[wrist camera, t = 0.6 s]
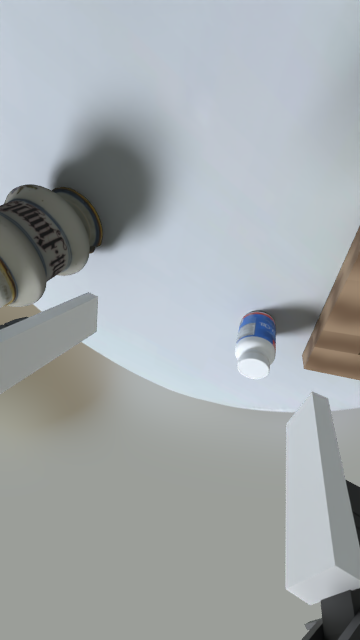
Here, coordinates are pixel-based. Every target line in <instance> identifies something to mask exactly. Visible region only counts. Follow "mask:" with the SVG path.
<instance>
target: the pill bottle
mask: <svg viewBox="0 0 360 640" xmlns="http://www.w3.org/2000/svg"><path fill="white" fill-rule="evenodd" d="M275 353H276V325H275V321H274V319H273V318H272V317H271V316H270V315H268V314H267V313H264V312H251V313H248V314H246V315H245V316H244V317H243V318H242V320H241V322H240V327H239V332H238V337H237V342H236V348H235V355H236V357H237V359H238V366H237V368H238V371H239V372H240V373H241V374H242V375H243V376H245V377H247V378H250V379H262V378H264V377H266V376H267V375H268V373H269V369H270V365H271V364H272V363H273V361H274V359H275Z"/></svg>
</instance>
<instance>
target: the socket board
mask: <svg viewBox="0 0 360 640" xmlns="http://www.w3.org/2000/svg"><path fill="white" fill-rule="evenodd" d="M302 357H303V365H304V369H307V370H312V371H317V372H322V373H327V374H332V375H337V376H342V377H347V378H351V379H356V380H360V227H359V229H358V231H357V233H356V236H355V238H354V240H353V242H352V245H351V247H350V249H349V251H348V254H347V256H346V258H345V260H344V263H343V265H342V267H341V269H340V271H339V274H338V276H337V278H336V280H335V283H334V285H333V287H332V289H331V292H330V294H329V296H328V298H327V301H326V303H325V305H324V307H323V310H322V312H321V314H320V316H319V319H318V321H317V323H316V325H315V328H314V330H313V332H312V334H311V337H310V339H309V341H308V343H307V346H306V348H305V350H304V352H303V354H302Z"/></svg>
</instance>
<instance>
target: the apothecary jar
mask: <svg viewBox="0 0 360 640" xmlns="http://www.w3.org/2000/svg"><path fill="white" fill-rule="evenodd" d="M102 235H103V233H102V226H101V222H100V219H99V217H98V214H97V213H96V211H95V209H94V208H93V206H92V205H91V204H90V202H89V201H88V200H87V199H86V198H85V197H84V196H82V195H81V194H80V193H78V192H76V191H75V190H72V189H70V188H66V187H60V188H56V189H53V190H52V191H51V190H49V189H47V188H44V187H41V186H38V185H23V186H19V187H17V188H15V189H13V190H12V191H11V192H10V193H9V194H8V196H7V198H6V200H5V203H4V204H3V205H1V206H0V307H2V306H5V305H8V306H15V307H22V306H28V305H31V304H33V303H35V302H37V301H38V300H39V299H40V298H41V297H42V295H43V293H44V291H45V288H46V282H47V281H48V280H50V279H51V278H53V277H54V276H56V275H61V276H66V275H72V274H75V273H77V272H79V271H80V270H81V269H82V268H83V267H84V266H85V264H86V263H87V261H88V258H89V253H92V252H93V251H94V249H95V246H100V244H101V241H102Z"/></svg>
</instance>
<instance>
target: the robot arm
mask: <svg viewBox="0 0 360 640" xmlns="http://www.w3.org/2000/svg"><path fill="white" fill-rule="evenodd" d="M97 308H98V296H95V295H93V294H91V293H89V292H88V293H85V294H83V295H81V296H78V297H76V298H74V299H71V300H69V301H67V302H64V303H62V304H60V305H57V306H55V307H53V308H50V309H48V310H45V311H43V312H41V313H38V314H36V315H34V316H31V317H24V318H19V319H15V320H12V321H10V322H8V323H5V324H4V325H0V394H1V393H3V392H4V391H6V390H8V389H9V388H10V387H12V386H14V385H15V384H17V383H18V382H20V381H21V380H23V379H24V378H26V377H27V376H29V375H31V374H32V373H34V372H35V371H37V370H38V369H40V368H41V367H43V366H44V365H46V364H48V363H49V362H51V361H52V360H54V359H55V358H56V357H58V356H60V355H61V354H63V353H64V352H66V351H68V350H69V349H71V348H72V347H74V346H75V345H77V344H78V343H80V342H81V341H83V340H84V339H86V338H88V337H89V336H91V335H92V334H94V333H95V332H97ZM285 586H286V587H285V588H286V590H288V591H289V592H291V593H292V594H294V595H296V596H297V597H298V598H300V599H302V600H303V601H305V602H306V603H308V604H309V605H312V604H315V603H318V602H321V609H322V618H321V619H318V620H314V621H310V622H308V623H307V624H305V627H306V629H307V630H310V631H309V632H308V633H307V634H306V635H305V636H304V638H303V639H302V640H360V487H358V486H356V485H354V484H352V483H351V482H349V481H347V480H345V476H344V471H343V467H342V462H341V457H340V452H339V448H338V443H337V438H336V434H335V429H334V424H333V420H332V415H331V410H330V405H329V401H328V398H326V397H323V396H321V395H319V394H317V393H314V392H311V393H310V394H309V396H308V397H307V398H306V400H305V401H304V402H303V403H302V405H301V406H300V407H299V409H298V410H297V411H296V412H295V414H294V415H293V416H292V418H291V419H290V420H289V421H288V423H287V424H286V581H285Z"/></svg>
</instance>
